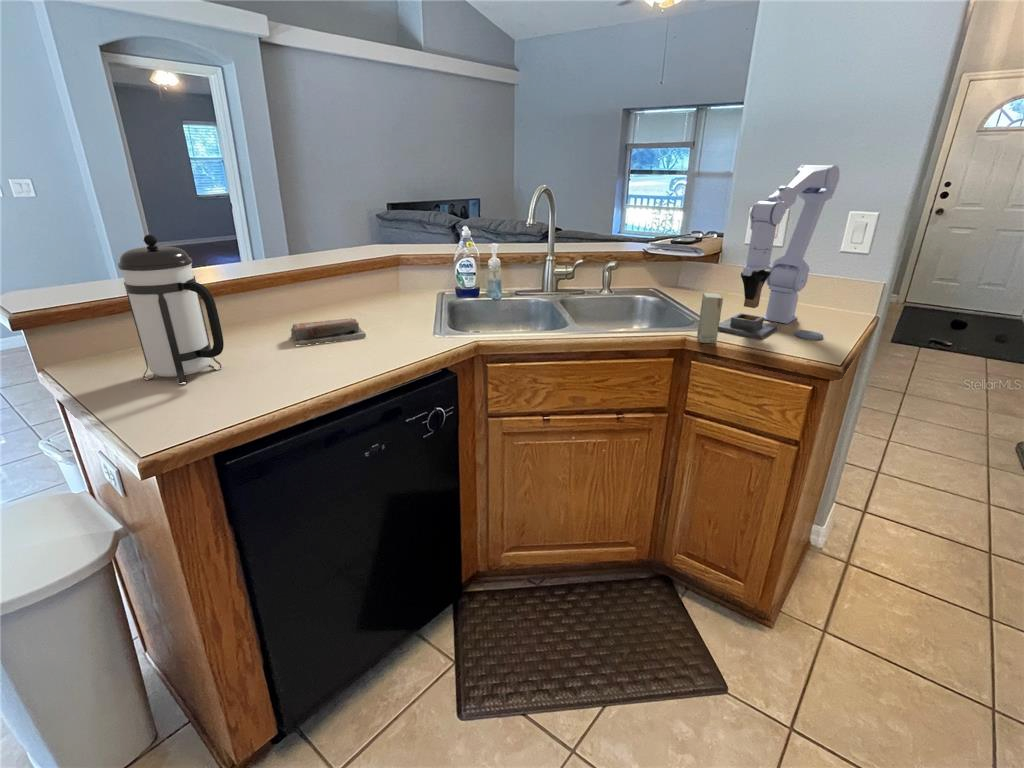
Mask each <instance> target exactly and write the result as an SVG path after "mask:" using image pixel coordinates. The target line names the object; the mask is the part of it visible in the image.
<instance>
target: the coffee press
mask: <svg viewBox="0 0 1024 768" xmlns="http://www.w3.org/2000/svg"><path fill="white" fill-rule="evenodd" d="M143 242H144V243H145V245H147V246H145V247H137V248H132V249H129V250H127V251H125V252H124V253H122V254H121V255H120V258H119V262H118V263H117V268H118V269H119V270H120V271H121V273H122V276H123V280H124V281H123V284H124V289H125V292H126V295H127V300H128V303H129V308H130V310H131V315H132V317H133V321H134V324H135V329H136V332H137V336H138V338H139V343H140V346H141V349H142V350H141V351H142V354H143V357H144V361H145V365H146V370H145V372H144V373H143V379H144V378H145V377H146V376H145V375H147V372H148V370H149V371H150V372H151V373H152V375H153V378H154V377H155V376H159V377H165V378H166V377H168V378H170V377H177V381H178V384H179V383H182V382H187V378H186V377H187V375H193V374H195V373H198V372H201V371H202V370H205V369H207V368H211V369H213V370H215V369H214V367H215V366H214V365H211V364H212V362H213V361H214V362H215V363H216V364H217V365H219V367H220V368H221V369H222V364H221V362H219V361H218V360H217V359H216V358H215V357H217V356H220V355H221V354H222V352H223V349H224V345H225V344H224V336H223V331H222V326H221V321H220V318H219V313H218V309H217V305H216V302H215V300H214V297H213V295H212V294H211V292H210V290H209V289H208V288H207V287H206V286H204V284H201V283H199V282H197V280H196V276H195V275H194V272H193V267H192V264H193V258H192V257H189V255H188V253H187V252H186V251H185V250H184V249H182V248H180V247H175V246H169V245H168V246H167V245H166V246H165V245H162V246H161V245H159V246H157V243H158V239H157V238H156V236H155V235H152V234H146V235H145V236H144V237H143ZM201 299H202V301H203V303H204V306H205V309H206V315H207V319H208V323H209V327H210V333H211V336H212V343H213V345H212V346H211V341H210V337H209V333H208V329H207V324H206V320H205V319H206V318H205V315H204V311H203V306H202V301H201Z"/></svg>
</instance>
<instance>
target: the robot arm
mask: <svg viewBox="0 0 1024 768" xmlns="http://www.w3.org/2000/svg"><path fill="white" fill-rule="evenodd" d="M839 181H840V168H839V166H838V165H837V164H827V165H826V164H825V165H823V164H820V165H819V164H818V165H817V164H814V165H813V164H801V165H800V166H799V167H798V168H797V169H796V171H795V175H794V178H793V179H792V181H790V183H788V185H780V186H779V187H778V188H777V189H776V190H775V191H774V192H773V193H771V195H769V196H768V197H767V198H766V199H765V200H759V201H758V202H755V204H754V205H753V206H752V207H751V210H750V213H749V216H750V217H749V219H750V227H749V228H750V230H751V236H750V240H749V246H748V252H747V258H746V263H745V265H744V267H743V269H742V272H741V273H740V277H741V279H742V284H743V292H744V300H745V299H750V300H753V299H754V297H755V294H756V291H757V288H758V285H759V283H760V281H763V285H762V288H763V287H764V284H765V283H766V284H767V286H768V290H770V291H769V297H768V302H767V307H766V312H765V314H764V315H762V316H761V317H764V320H765V321H770V322H776V323H782V324H791V322H793V321H794V320H796V319H798V318H799V317H798V316H797V315H795V314H796V310H797V304H798V301H799V294H798V292H801V291H802V290H803V289H804V288H805V287H806V285H807V283H808V277H809V273H810V266H809V265H808V263H807V262H806V261H805V260H804V257H805V254H806V252H807V249H808V247H809V244H810V241H811V239H812V236H813V234H814V232H815V230H816V227H817V223H818V221H819V219H820V217H821V214H822V211H823V208H824V206H825V204H826V202H827V201H829V200H831V199H832V198H833V195H834V194H835V191H836V188H837V186H838V183H839ZM797 196H798V197H799V198H800V199H802V200H804V204H803V206H802V210H801V212H800V215H799V217H798V219H797V221H796V222H797V223H796V225H795V227H794V231H793V233H792V235H791V238H790V240H789V244H788V246H787V249H786V252H785V254H784V255H783V256H780V257H778V258H776V259H774V261H773V262H772V265H771V258H772V253H773V252H772V251H773V246H774V241H775V235H776V230H777V225H779V224H780V223H781V222H782V220H783V217H784V216H785V214H786V212H787V210H788V209H789V208H790V207H792V206H793V205H795V202H796V201H797Z"/></svg>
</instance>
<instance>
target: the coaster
mask: <svg viewBox="0 0 1024 768" xmlns="http://www.w3.org/2000/svg"><path fill="white" fill-rule="evenodd" d="M794 336H795V337H797V338H799V339H803V340H808V339H809V341H821V340H823V339H824V335H823V334H822V333H820V332H817V331H813V330H804V329H803V330H800V329H799V330H796V331H794Z"/></svg>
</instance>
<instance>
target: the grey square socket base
mask: <svg viewBox="0 0 1024 768" xmlns="http://www.w3.org/2000/svg"><path fill="white" fill-rule="evenodd" d="M742 318H744V319H742ZM746 319H749V320H746ZM752 320H754V321H752ZM764 320H765V319H764V317H762V316H759V315H753V314H748V313H742V312H740V313H738V314H735V315H734V316H732V317H729V318H728V319H726V320H724V321H722V322H719V328H718V330H720V331H719V332H722V331H724V332H723V333H727V332H728V333H727V334H731V335H736V334H737V336H742V337H747V338H750V339H751V338H753V339H756V340H759V341H760V340H762V339H764V338H766V337H767V336H768V335H770V334H772V333H774V332H775V331H777V330H778V327H779V325H777V324H773V323H766V322H764Z"/></svg>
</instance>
